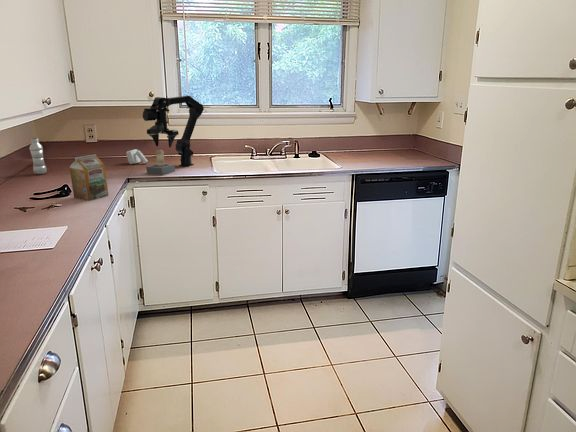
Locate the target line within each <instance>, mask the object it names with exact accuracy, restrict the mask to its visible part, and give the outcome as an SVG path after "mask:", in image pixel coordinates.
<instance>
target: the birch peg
mask: <svg viewBox="0 0 576 432" xmlns="http://www.w3.org/2000/svg"><path fill="white" fill-rule="evenodd" d="M154 154H155V164H156V165H157V167H164V166H165V165H164V164H165V156H164V155H165V154H164V150H163V149H158V150H155V152H154Z"/></svg>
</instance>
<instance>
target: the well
mask: <svg viewBox="0 0 576 432" xmlns="http://www.w3.org/2000/svg"><path fill="white" fill-rule="evenodd" d="M164 165H165V166H164V167H157V165H156V163H154V164H150V165H147V166H146V174H147V173H148V175H157V176H158V175H159V176H164V175H165V176H166V175H169V174H170V173H175V172H176V169H175V167H176V166H175V164H172V163H164Z"/></svg>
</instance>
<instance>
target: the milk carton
mask: <svg viewBox="0 0 576 432" xmlns="http://www.w3.org/2000/svg"><path fill="white" fill-rule="evenodd" d="M74 159H75V161H73V162H72V163H71V165H70V166H69V172H70V174H69V175H70V179H71V187H72V192H73V193H72V194H73V198H74V199H78V200H82V201H87V202H90V201H94V200H97V199H101V198H106V197H109V190H108V189H109V188H108V181H107V172H106V166H105V164H104V163H103V162H102V160H101V159H99V158H98V157H97V154H96V153H95V154H88V155H83V156H78V157H75V158H74Z"/></svg>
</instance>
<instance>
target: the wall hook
mask: <svg viewBox="0 0 576 432" xmlns="http://www.w3.org/2000/svg"><path fill="white" fill-rule="evenodd" d="M125 154H126V157H127V160H128V164H129V165H135V164H137V163H141V162H142V163H143V165H146V164H147V163H148V162H149V160H148V159H147V158H146V157H145V155H144V154H143V153H142V151H140V150H139V149H135V148H134V149H132V150H131V149H130V150H128V151H126V153H125Z"/></svg>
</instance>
